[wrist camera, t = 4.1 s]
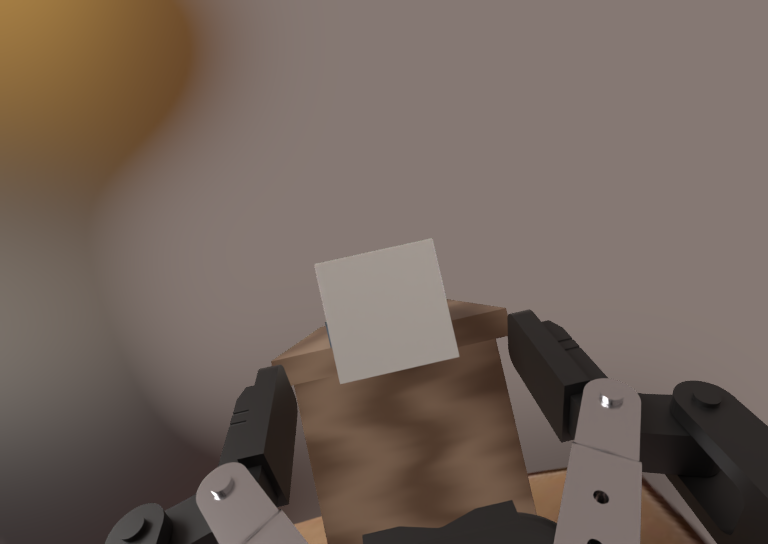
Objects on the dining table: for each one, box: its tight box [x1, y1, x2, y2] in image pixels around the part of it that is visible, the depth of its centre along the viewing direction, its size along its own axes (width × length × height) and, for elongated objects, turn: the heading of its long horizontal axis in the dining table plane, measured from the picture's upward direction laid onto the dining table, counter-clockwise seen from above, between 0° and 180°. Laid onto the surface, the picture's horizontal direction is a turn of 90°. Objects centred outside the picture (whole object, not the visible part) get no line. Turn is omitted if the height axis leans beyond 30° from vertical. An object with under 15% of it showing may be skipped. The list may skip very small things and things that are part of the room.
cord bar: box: [314, 238, 460, 384], centre depth 26 cm, size 4×26×4 cm, turn 1°
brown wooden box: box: [271, 299, 537, 544], centre depth 32 cm, size 14×20×34 cm
